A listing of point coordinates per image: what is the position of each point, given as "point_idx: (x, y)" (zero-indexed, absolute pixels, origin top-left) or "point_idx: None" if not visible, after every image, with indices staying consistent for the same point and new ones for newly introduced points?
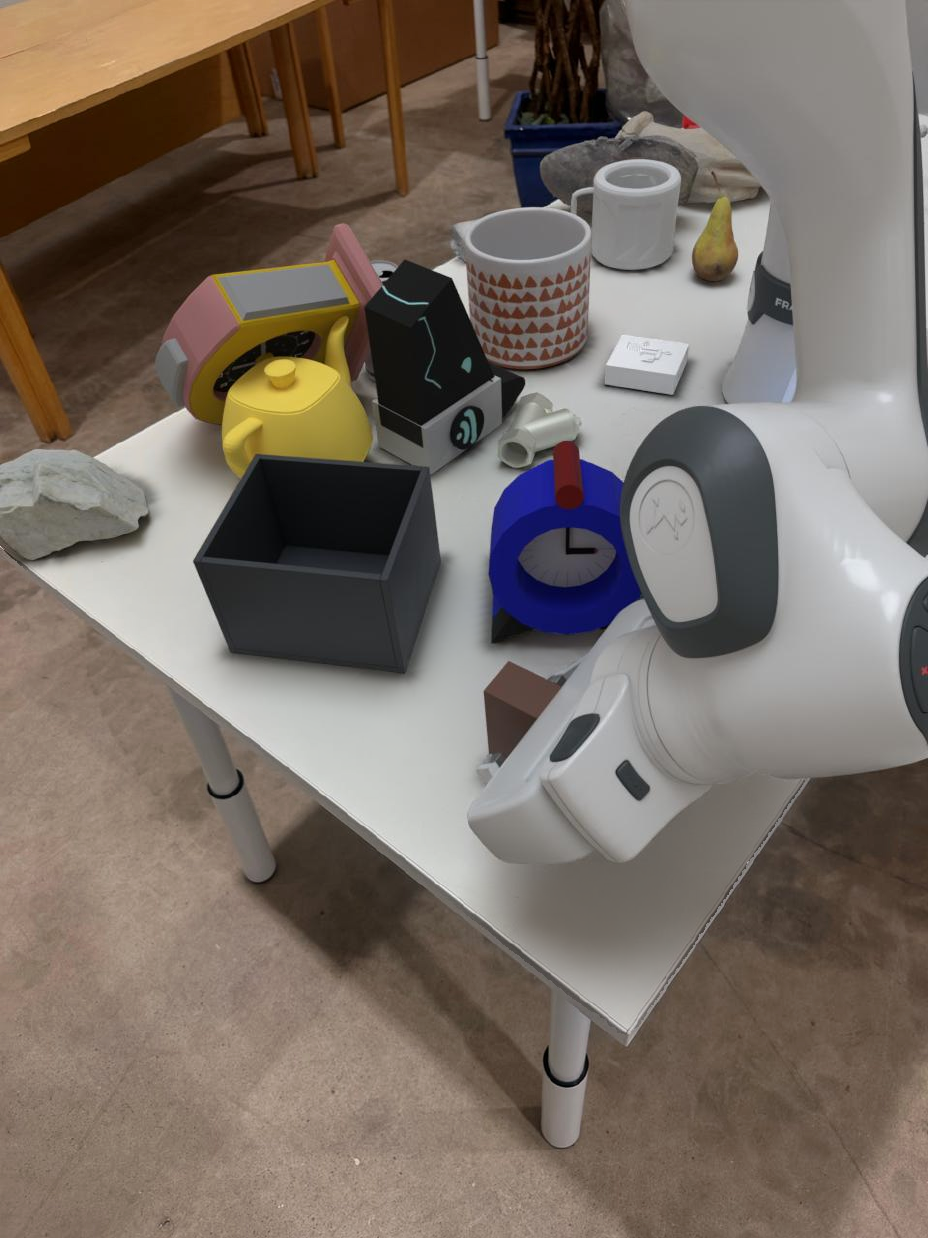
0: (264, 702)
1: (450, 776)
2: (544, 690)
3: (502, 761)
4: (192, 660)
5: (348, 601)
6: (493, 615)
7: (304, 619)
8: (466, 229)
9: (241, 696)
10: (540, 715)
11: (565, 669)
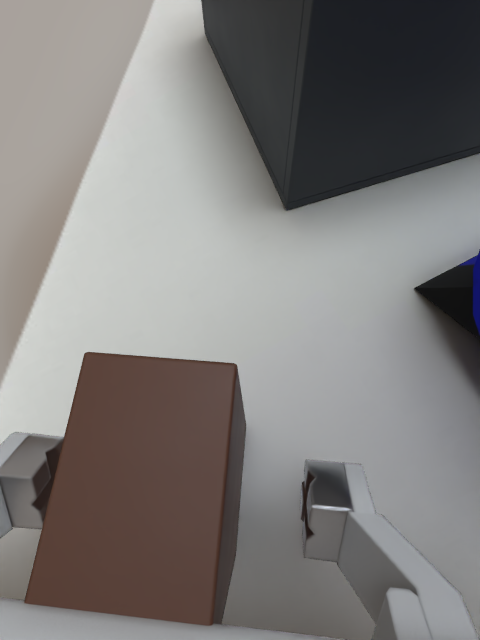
0: (156, 99)
1: None
2: (164, 558)
3: (20, 490)
4: (175, 13)
5: (269, 5)
6: (465, 263)
7: (238, 17)
8: None
9: (153, 76)
10: (21, 618)
11: (373, 510)
